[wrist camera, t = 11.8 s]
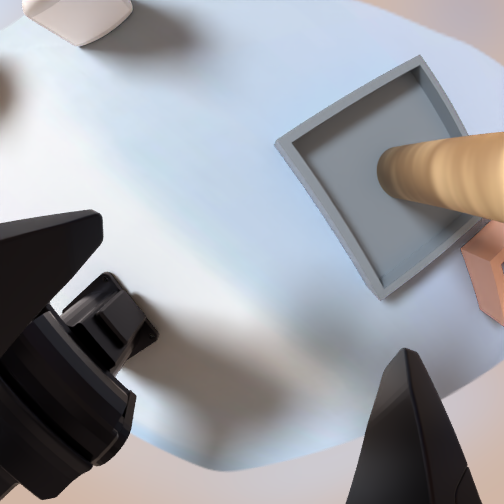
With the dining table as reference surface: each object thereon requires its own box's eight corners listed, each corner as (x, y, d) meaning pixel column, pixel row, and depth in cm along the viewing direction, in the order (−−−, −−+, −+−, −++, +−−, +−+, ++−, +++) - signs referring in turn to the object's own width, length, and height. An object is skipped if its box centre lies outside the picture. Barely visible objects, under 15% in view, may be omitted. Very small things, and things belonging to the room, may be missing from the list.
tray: (367, 287, 21) (380, 301, 19) (273, 145, 19) (276, 140, 16) (476, 199, 20) (497, 203, 17) (403, 65, 17) (420, 54, 15)
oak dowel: (404, 209, 19) (575, 266, 5) (367, 176, 18) (542, 192, 5) (429, 169, 18) (601, 183, 4) (393, 136, 18) (567, 103, 4)
